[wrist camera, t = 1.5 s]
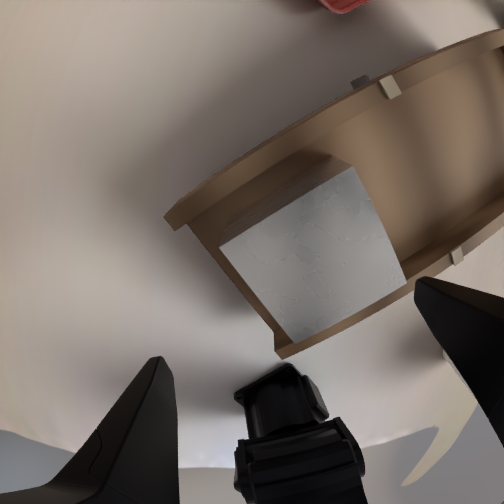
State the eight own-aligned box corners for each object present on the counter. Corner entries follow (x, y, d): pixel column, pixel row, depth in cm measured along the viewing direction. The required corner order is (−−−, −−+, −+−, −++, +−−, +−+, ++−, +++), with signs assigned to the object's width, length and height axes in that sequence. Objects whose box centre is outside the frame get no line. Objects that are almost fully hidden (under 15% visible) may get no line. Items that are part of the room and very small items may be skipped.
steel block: (289, 303, 20) (295, 344, 16) (227, 219, 17) (218, 247, 14) (382, 251, 18) (407, 282, 14) (331, 155, 15) (352, 165, 12)
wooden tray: (282, 327, 23) (286, 365, 19) (177, 191, 19) (156, 210, 15) (530, 167, 16) (562, 180, 12) (479, 27, 12) (513, 19, 8)
